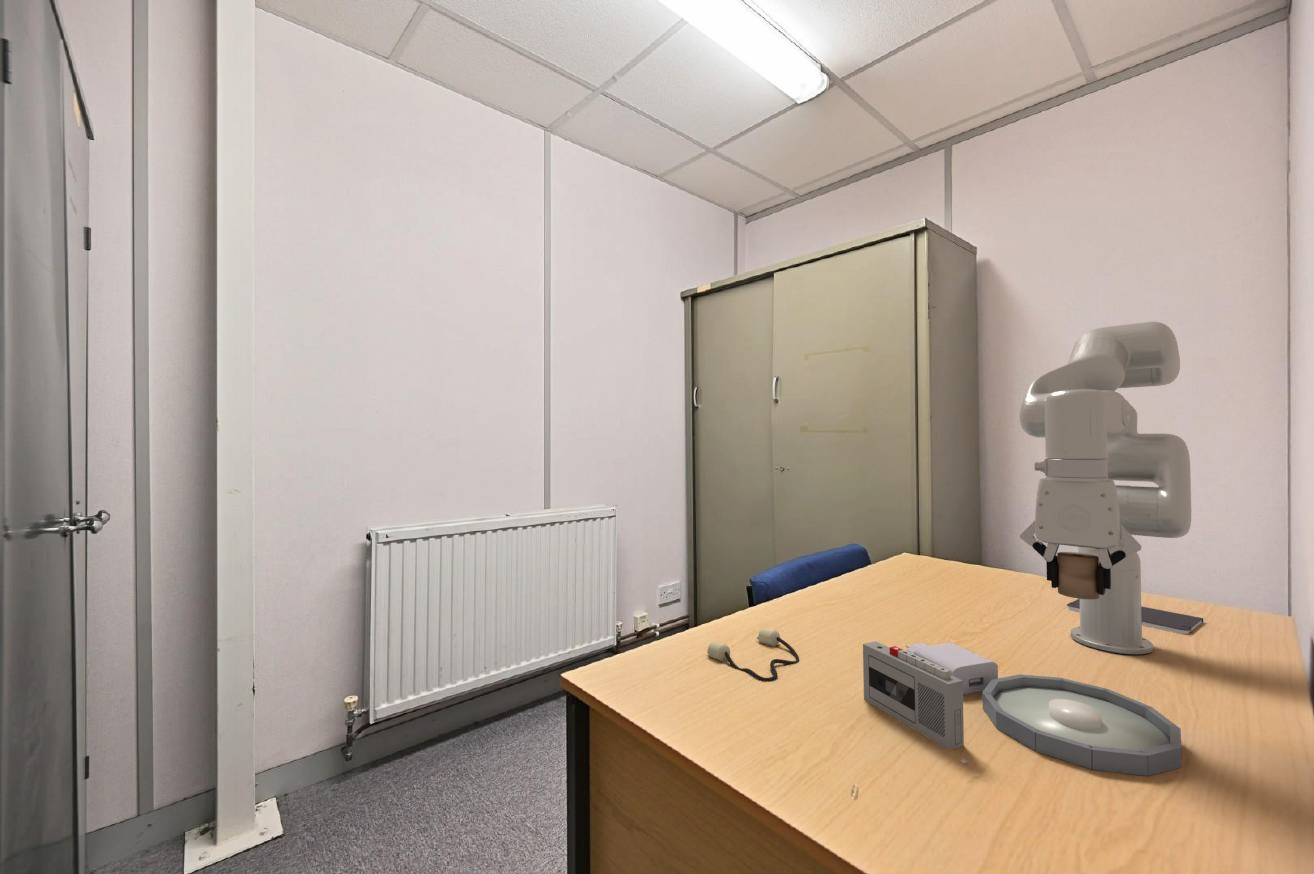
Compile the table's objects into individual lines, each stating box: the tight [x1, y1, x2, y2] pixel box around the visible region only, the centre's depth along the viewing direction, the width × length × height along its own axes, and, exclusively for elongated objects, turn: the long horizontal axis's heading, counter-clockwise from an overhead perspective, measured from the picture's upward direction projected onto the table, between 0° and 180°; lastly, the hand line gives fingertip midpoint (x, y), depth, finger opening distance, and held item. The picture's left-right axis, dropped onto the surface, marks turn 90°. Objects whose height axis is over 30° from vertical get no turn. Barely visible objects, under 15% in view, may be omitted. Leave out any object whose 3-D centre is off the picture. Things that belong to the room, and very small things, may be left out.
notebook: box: [1066, 598, 1204, 635], centre depth 124 cm, size 13×2×21 cm
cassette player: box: [862, 641, 965, 751], centre depth 80 cm, size 16×3×10 cm, turn 23°
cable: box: [706, 627, 800, 683], centre depth 103 cm, size 16×16×4 cm
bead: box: [1056, 551, 1099, 599], centre depth 82 cm, size 5×5×6 cm
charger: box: [905, 642, 999, 695], centre depth 96 cm, size 5×9×15 cm
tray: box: [981, 673, 1182, 777], centre depth 78 cm, size 22×22×2 cm
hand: (1078, 588), depth 82 cm, fingers closed on bead, 4 cm apart
